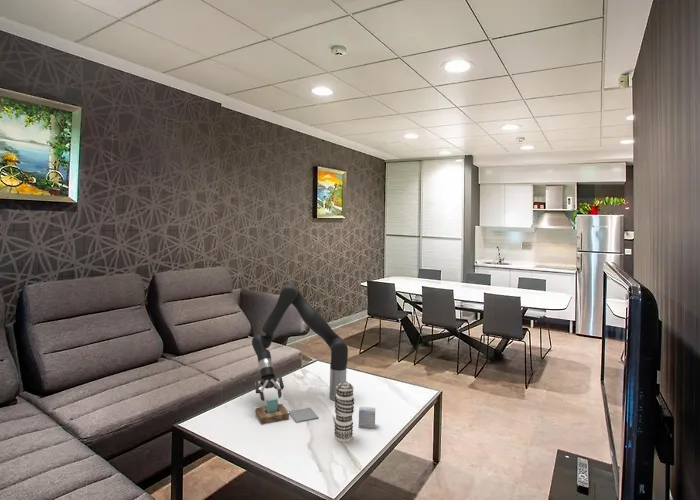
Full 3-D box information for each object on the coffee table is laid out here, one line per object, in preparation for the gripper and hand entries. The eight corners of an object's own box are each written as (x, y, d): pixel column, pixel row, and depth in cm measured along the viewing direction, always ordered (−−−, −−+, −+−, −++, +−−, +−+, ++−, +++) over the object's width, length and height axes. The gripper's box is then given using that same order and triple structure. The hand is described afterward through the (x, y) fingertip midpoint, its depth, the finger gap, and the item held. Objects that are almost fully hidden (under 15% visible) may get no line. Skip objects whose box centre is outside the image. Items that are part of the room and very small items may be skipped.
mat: (310, 408, 221) (310, 407, 221) (318, 418, 211) (318, 417, 211) (288, 412, 216) (288, 411, 216) (295, 422, 205) (295, 421, 205)
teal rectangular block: (276, 414, 213) (276, 397, 213) (277, 416, 212) (277, 399, 211) (266, 416, 211) (266, 399, 211) (267, 418, 209) (267, 400, 209)
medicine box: (375, 424, 207) (375, 407, 206) (374, 428, 202) (375, 411, 202) (359, 423, 207) (359, 406, 207) (358, 427, 203) (358, 410, 202)
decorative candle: (330, 439, 191) (331, 386, 189) (338, 430, 200) (339, 379, 198) (348, 443, 188) (350, 389, 186) (356, 434, 196) (357, 382, 194)
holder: (281, 409, 220) (282, 403, 220) (288, 419, 209) (289, 413, 209) (255, 413, 214) (255, 408, 213) (261, 424, 203) (261, 418, 203)
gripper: (254, 367, 215) (259, 398, 206) (281, 364, 221) (287, 393, 212) (251, 374, 220) (256, 404, 211) (278, 370, 227) (283, 399, 217)
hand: (271, 398), depth 211 cm, fingers open, 8 cm apart
